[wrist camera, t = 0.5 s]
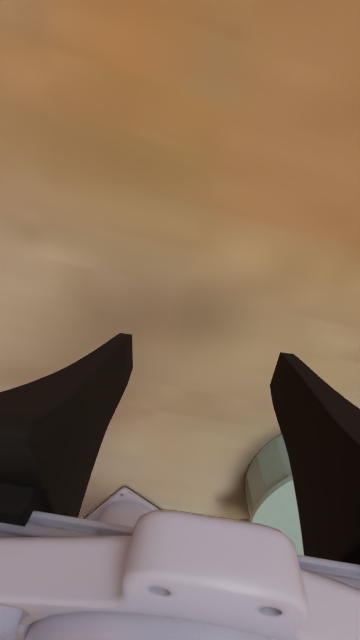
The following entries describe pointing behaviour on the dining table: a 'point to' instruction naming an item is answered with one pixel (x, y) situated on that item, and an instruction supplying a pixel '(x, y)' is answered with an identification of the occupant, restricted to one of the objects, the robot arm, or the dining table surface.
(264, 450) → the pot
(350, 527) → the robot arm
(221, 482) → the dining table surface
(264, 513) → the lid
